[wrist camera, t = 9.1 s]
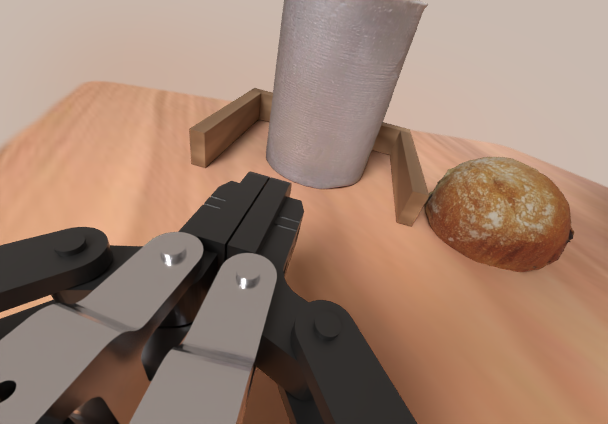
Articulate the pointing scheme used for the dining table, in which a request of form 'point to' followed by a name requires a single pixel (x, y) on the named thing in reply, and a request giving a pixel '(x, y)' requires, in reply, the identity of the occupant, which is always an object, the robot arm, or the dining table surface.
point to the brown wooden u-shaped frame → (257, 105)
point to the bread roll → (501, 214)
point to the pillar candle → (335, 85)
